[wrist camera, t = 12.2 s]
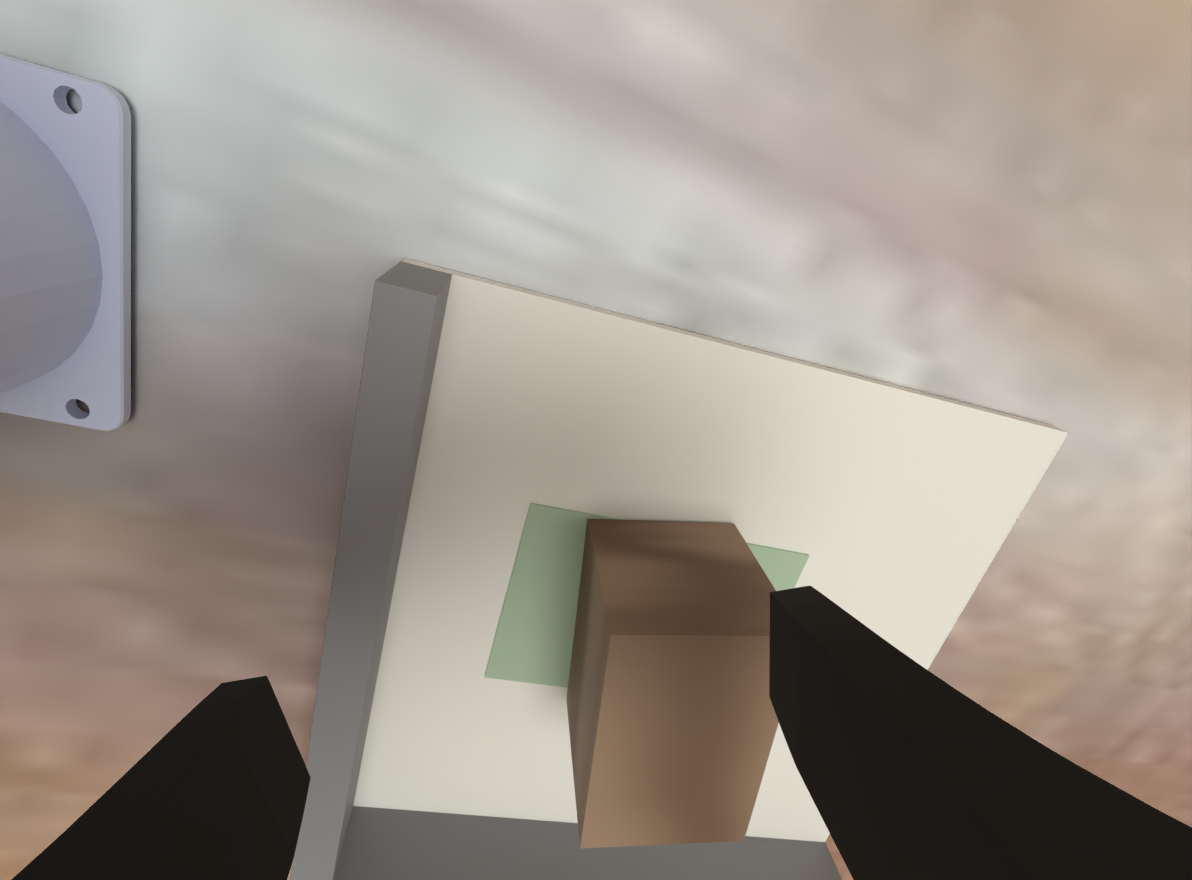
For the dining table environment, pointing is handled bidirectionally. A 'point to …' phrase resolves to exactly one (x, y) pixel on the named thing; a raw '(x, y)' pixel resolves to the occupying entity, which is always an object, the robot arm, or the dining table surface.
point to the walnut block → (669, 684)
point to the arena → (555, 553)
